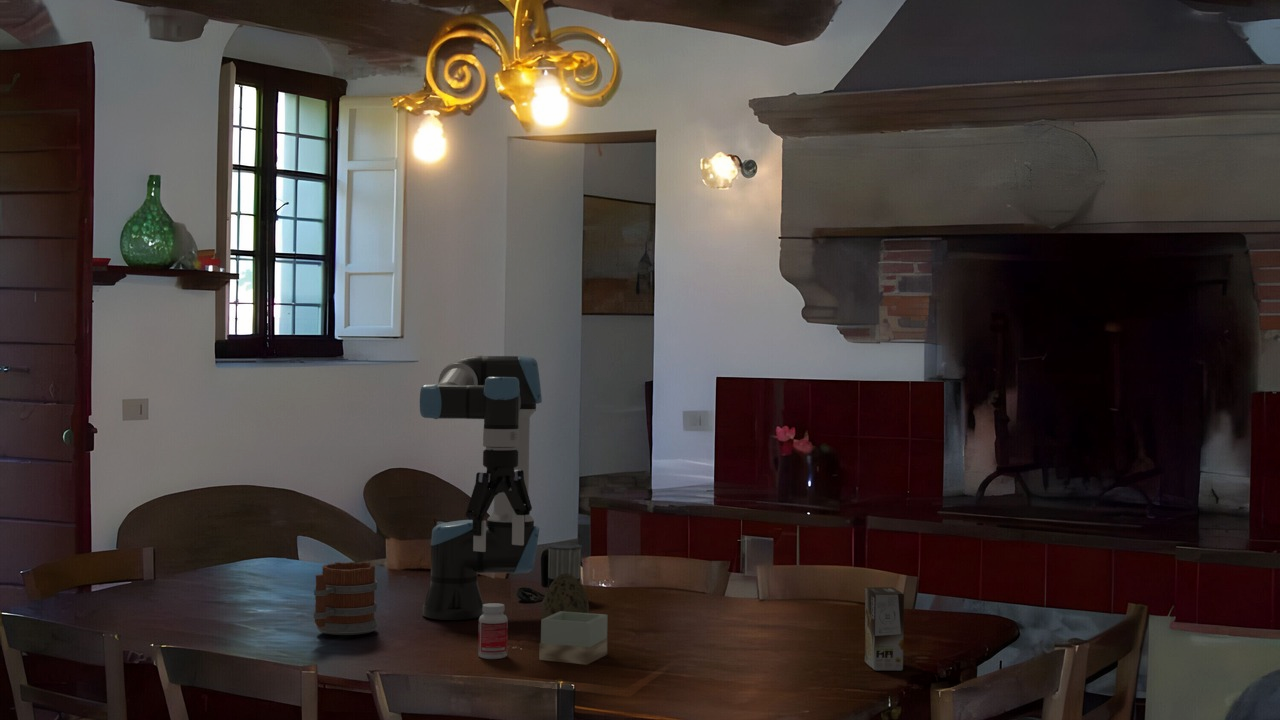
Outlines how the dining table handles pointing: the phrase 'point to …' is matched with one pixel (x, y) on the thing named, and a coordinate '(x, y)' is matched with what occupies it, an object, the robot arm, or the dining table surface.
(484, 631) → the pill bottle
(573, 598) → the decorative egg
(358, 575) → the mug
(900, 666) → the coffee box
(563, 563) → the milk frother
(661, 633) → the dining table surface
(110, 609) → the dining table surface
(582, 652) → the tower base
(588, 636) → the tower top
